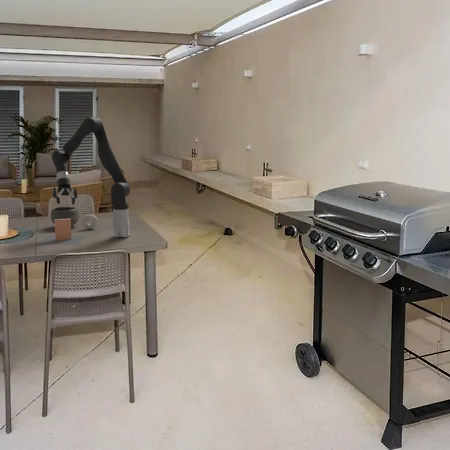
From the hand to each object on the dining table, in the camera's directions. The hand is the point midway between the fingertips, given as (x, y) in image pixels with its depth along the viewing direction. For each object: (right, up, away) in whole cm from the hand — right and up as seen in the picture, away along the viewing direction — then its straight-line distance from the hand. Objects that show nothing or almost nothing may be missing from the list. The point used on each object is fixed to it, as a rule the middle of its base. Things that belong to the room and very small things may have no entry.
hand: (66, 204), depth 320 cm
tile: (0, -21, -5) cm, 22 cm away
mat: (0, -22, -6) cm, 22 cm away
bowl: (-10, -14, +33) cm, 37 cm away
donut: (+8, -16, +26) cm, 32 cm away
